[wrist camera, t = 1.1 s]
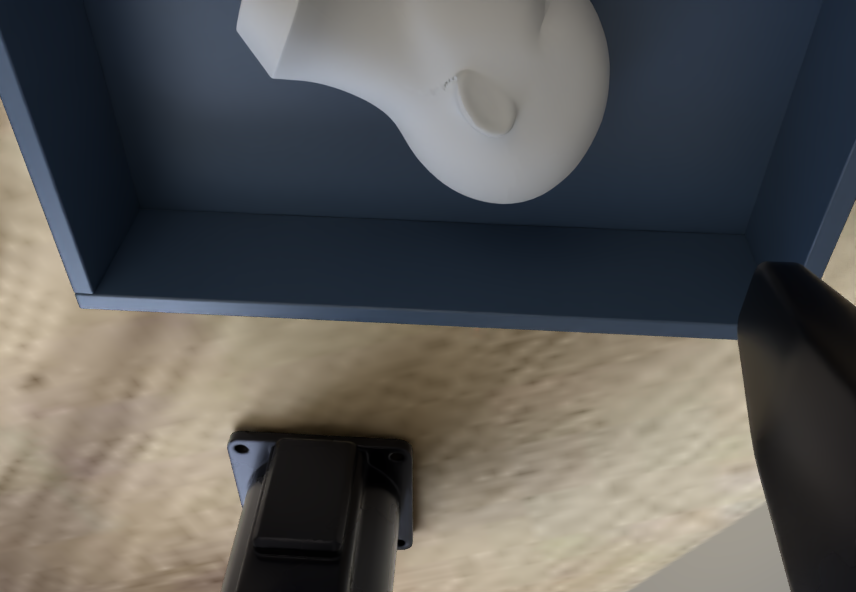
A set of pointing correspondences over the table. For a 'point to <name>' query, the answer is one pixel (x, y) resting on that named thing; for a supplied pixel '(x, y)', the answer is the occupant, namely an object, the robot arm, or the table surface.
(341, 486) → the robot arm
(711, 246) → the box
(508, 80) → the smooth white sculpture
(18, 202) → the table surface
